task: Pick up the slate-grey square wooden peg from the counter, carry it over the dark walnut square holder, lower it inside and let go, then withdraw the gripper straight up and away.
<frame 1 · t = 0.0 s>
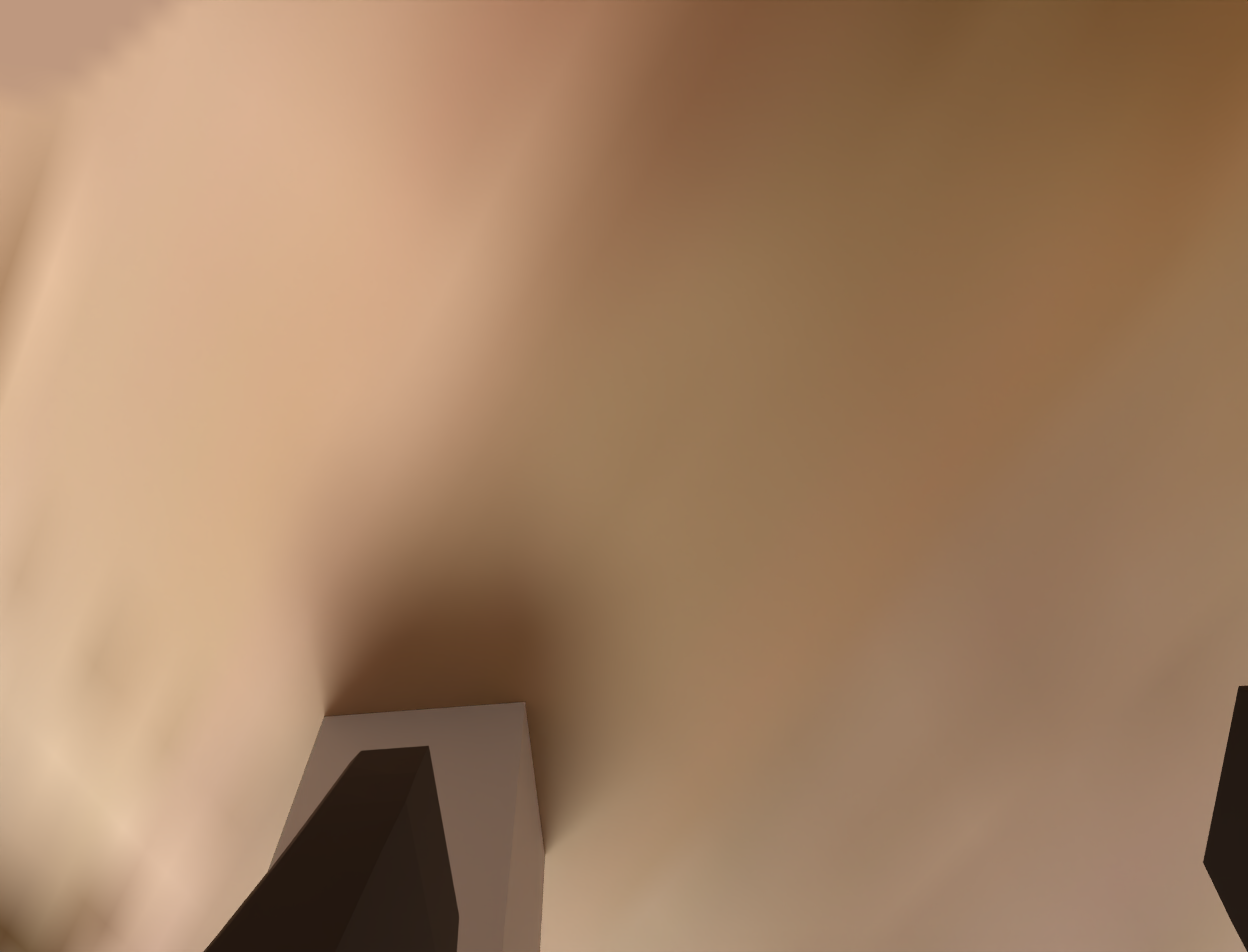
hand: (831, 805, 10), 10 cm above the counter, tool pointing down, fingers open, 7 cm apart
slate peg: (438, 788, 22), on the counter
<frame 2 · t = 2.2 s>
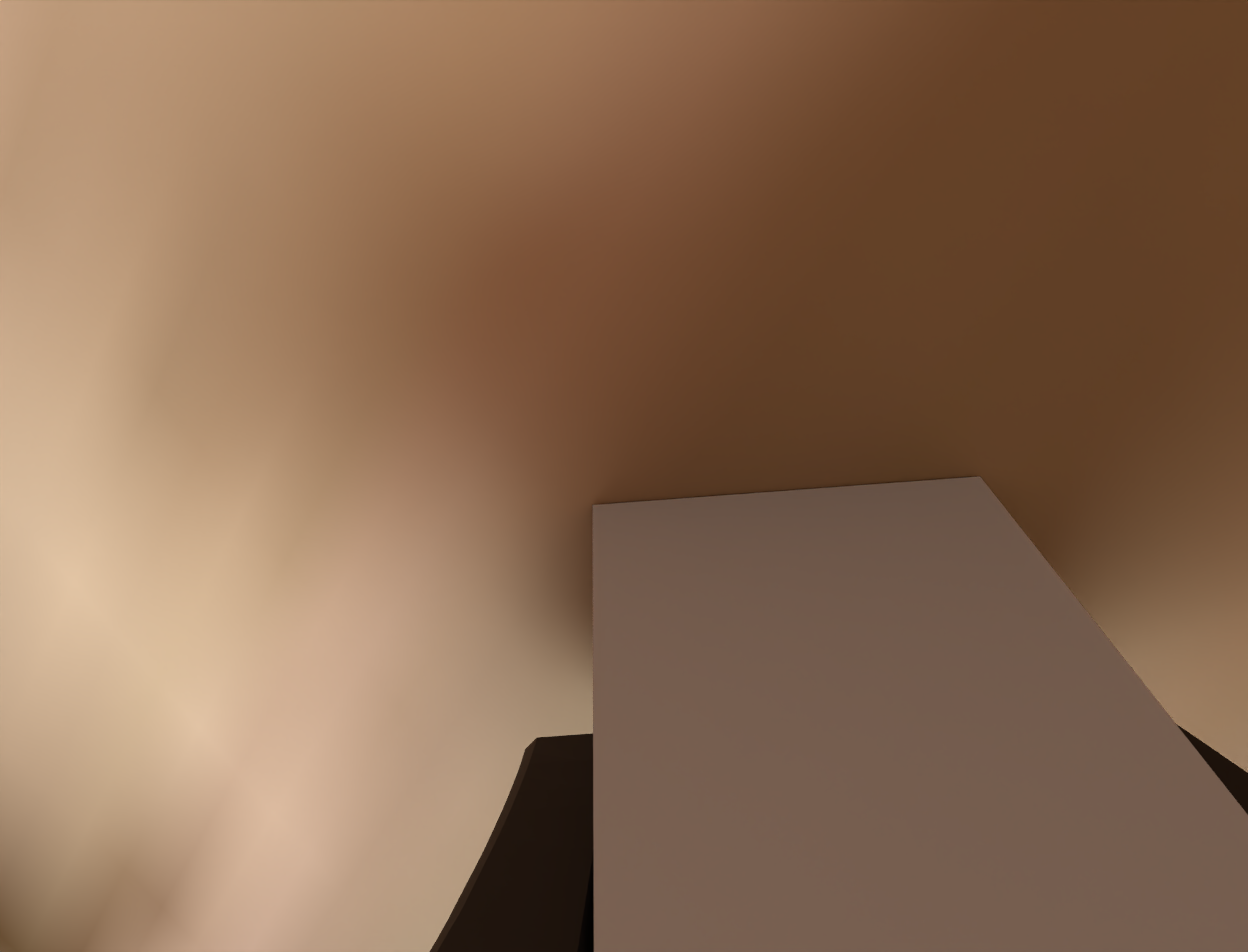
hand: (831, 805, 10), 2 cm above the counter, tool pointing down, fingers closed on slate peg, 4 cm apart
slate peg: (787, 653, 12), on the counter, touching gripper
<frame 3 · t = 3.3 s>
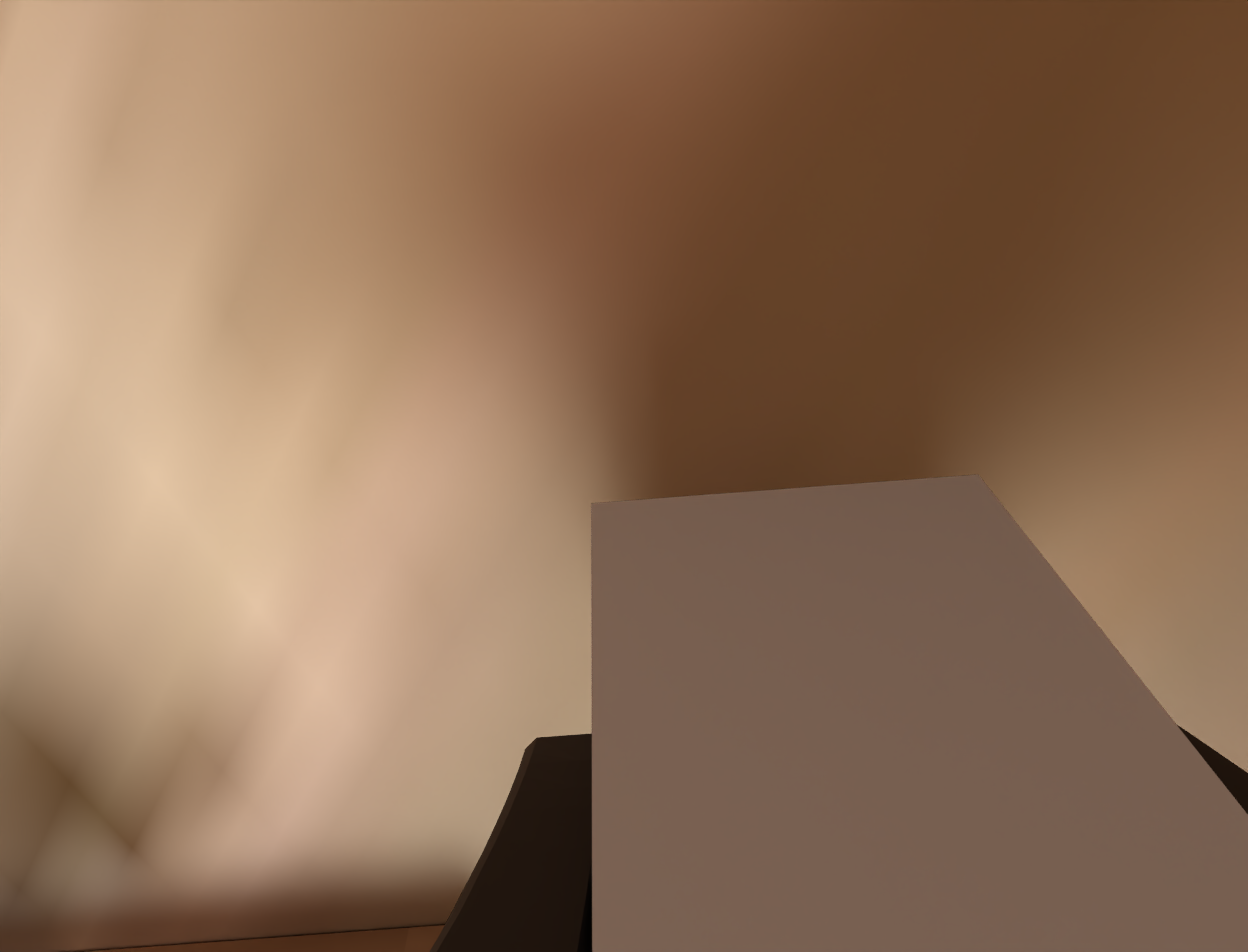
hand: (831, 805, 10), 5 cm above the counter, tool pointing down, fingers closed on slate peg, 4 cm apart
slate peg: (786, 651, 12), point 2 cm above the counter, touching gripper
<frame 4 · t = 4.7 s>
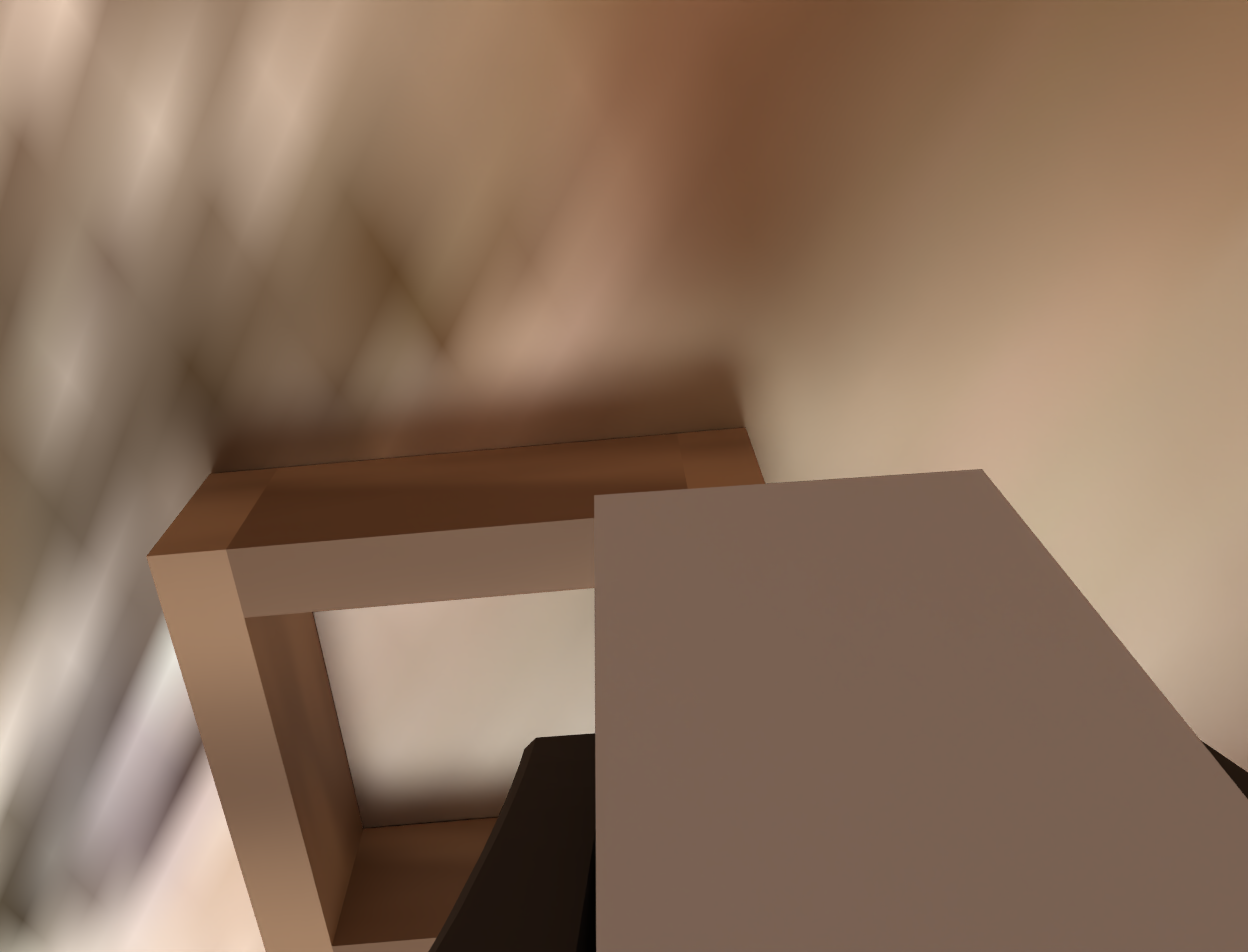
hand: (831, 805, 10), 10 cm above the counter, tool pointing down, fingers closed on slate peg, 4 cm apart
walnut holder: (510, 673, 21), on the counter
slate peg: (787, 645, 12), point 7 cm above the counter, touching gripper
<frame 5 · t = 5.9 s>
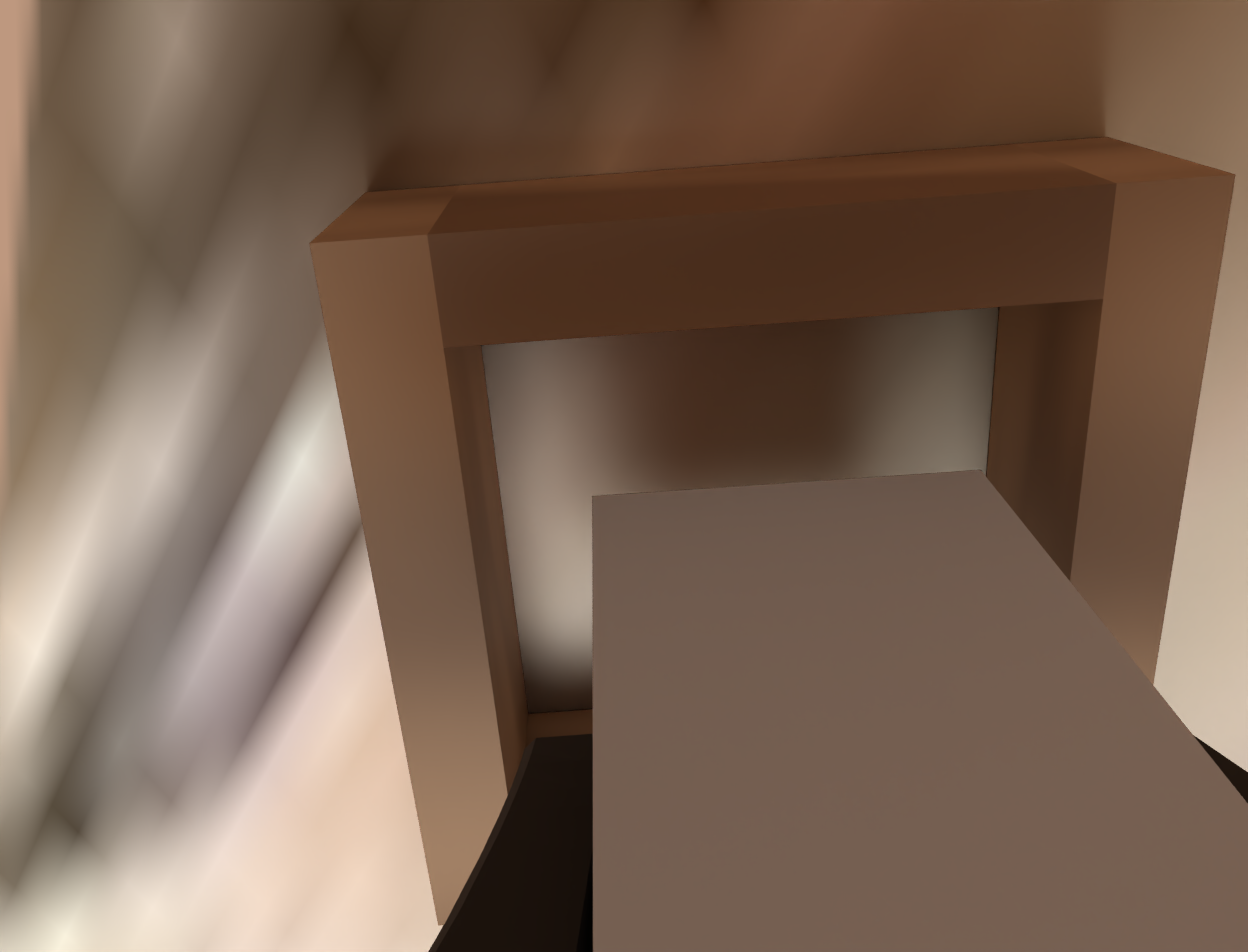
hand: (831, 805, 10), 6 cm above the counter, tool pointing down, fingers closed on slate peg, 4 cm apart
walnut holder: (744, 498, 16), on the counter
slate peg: (786, 646, 12), point 4 cm above the counter, touching gripper
when the fingers open (4 cm above the counter, at t = 7.1 s): slate peg drops 2 cm, resting in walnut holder.
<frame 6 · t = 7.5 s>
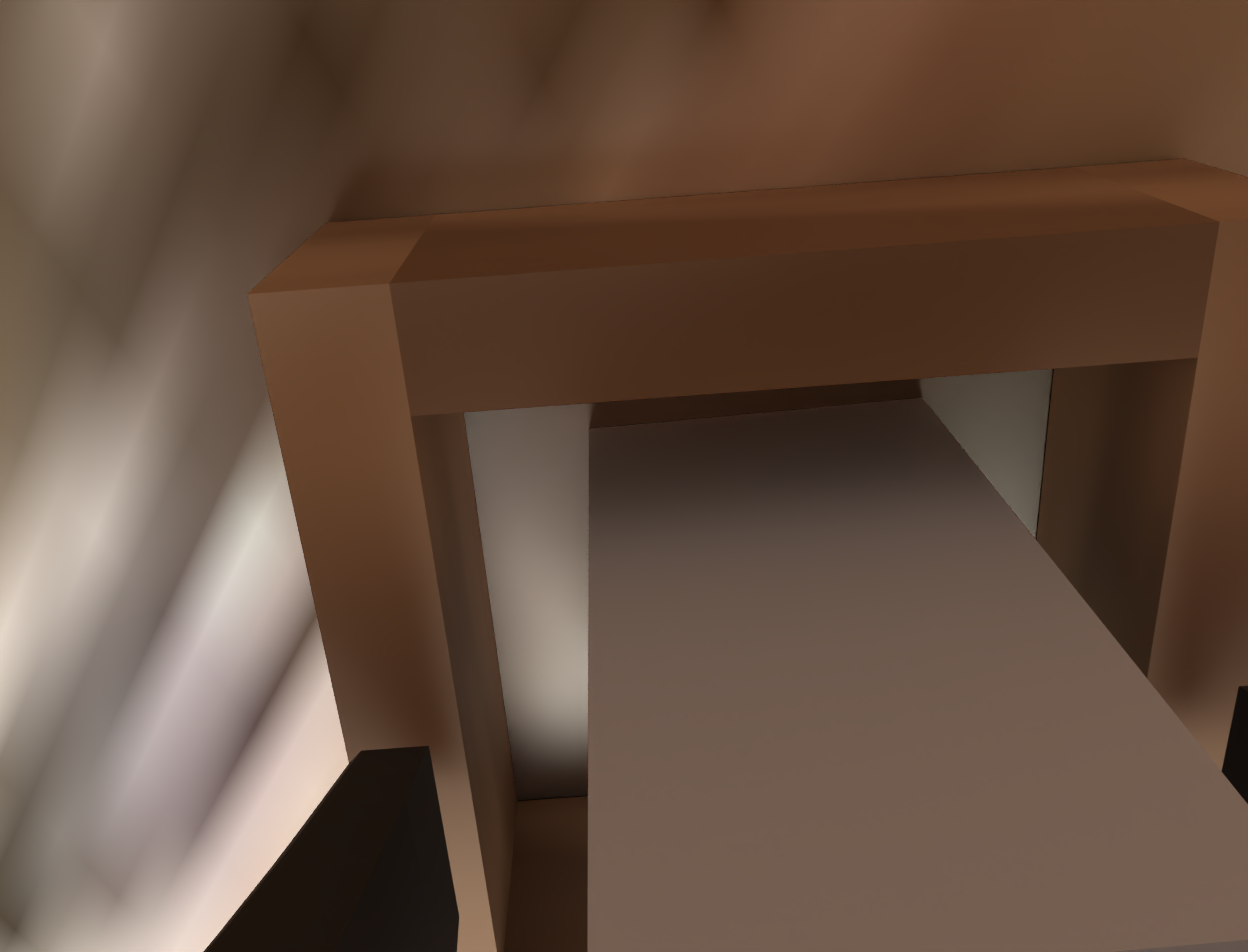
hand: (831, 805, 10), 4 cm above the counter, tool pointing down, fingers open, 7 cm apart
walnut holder: (761, 566, 14), on the counter
slate peg: (761, 559, 14), resting in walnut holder
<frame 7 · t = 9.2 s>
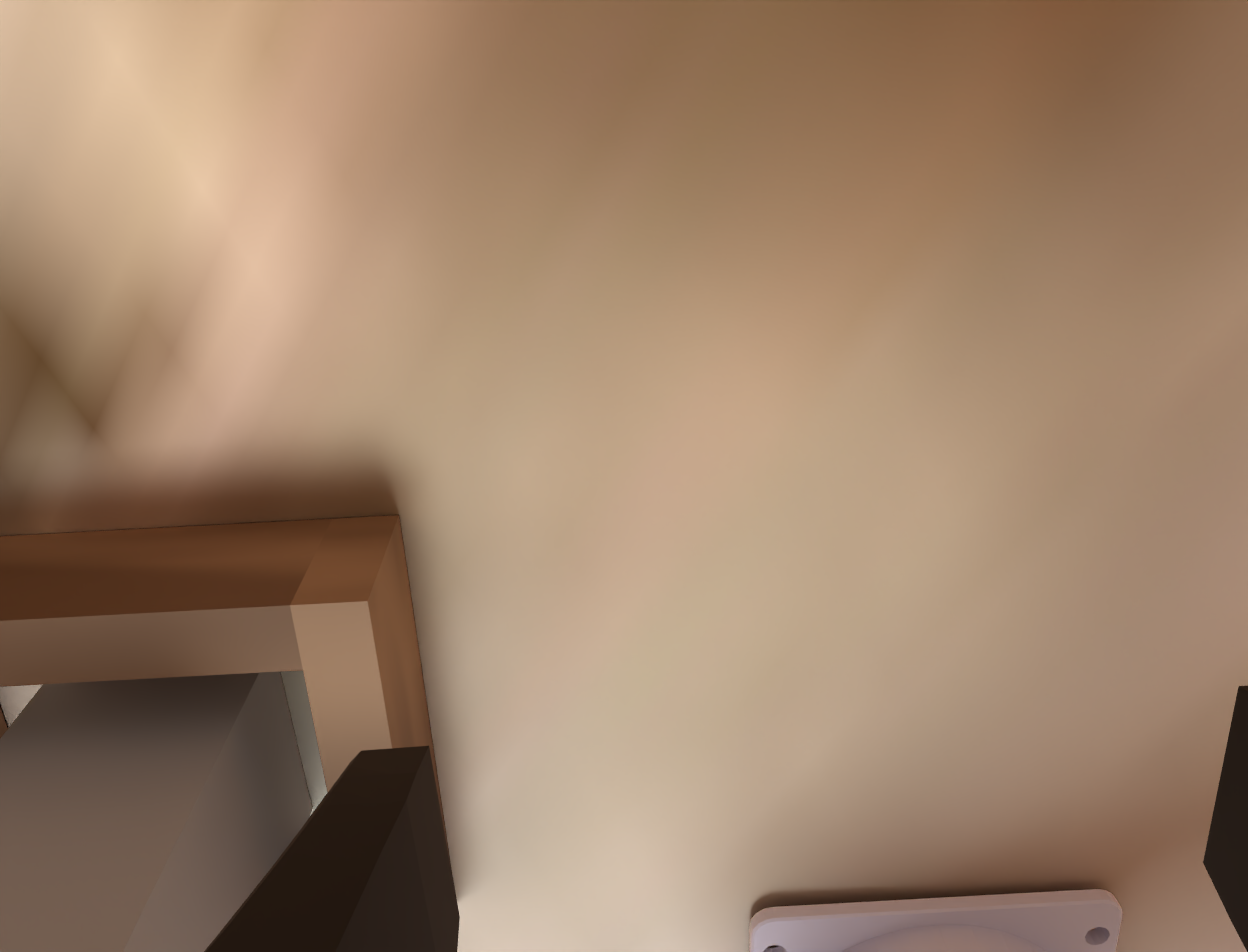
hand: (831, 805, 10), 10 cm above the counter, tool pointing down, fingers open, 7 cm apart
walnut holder: (192, 740, 21), on the counter
slate peg: (192, 736, 21), resting in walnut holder
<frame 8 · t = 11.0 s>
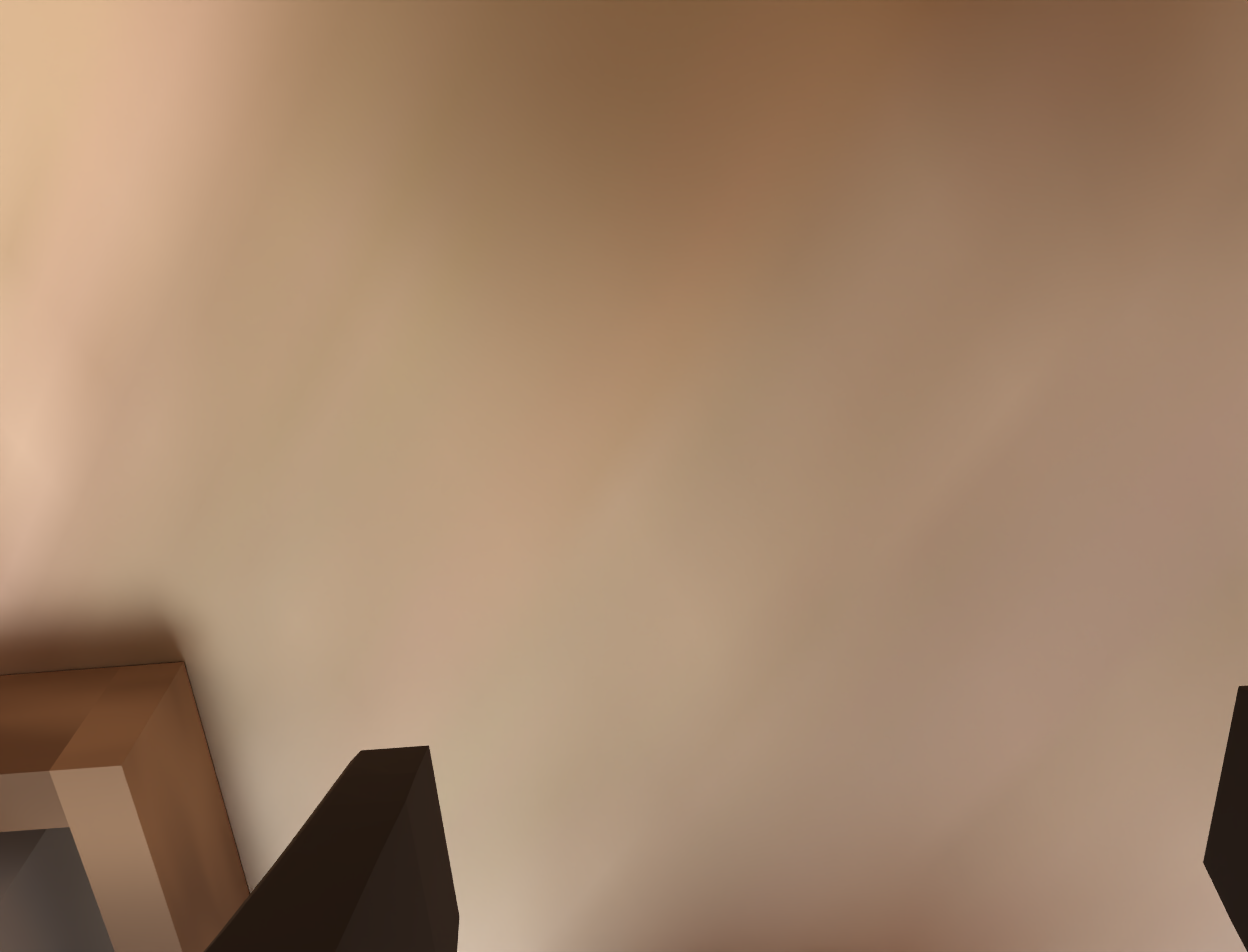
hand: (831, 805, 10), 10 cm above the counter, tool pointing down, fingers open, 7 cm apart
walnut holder: (12, 867, 23), on the counter
slate peg: (12, 862, 23), resting in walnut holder
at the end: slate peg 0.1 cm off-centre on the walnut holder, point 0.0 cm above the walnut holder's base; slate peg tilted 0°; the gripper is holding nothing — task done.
